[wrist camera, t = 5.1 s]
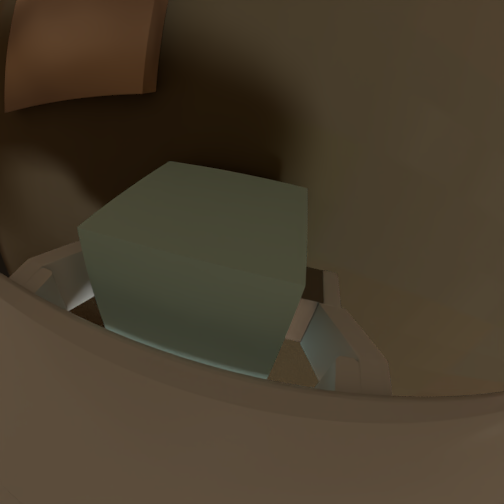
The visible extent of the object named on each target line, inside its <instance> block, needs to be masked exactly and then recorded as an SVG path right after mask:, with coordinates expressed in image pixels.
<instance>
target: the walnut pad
mask: <svg viewBox="0 0 504 504" xmlns="http://www.w3.org/2000/svg"><path fill="white" fill-rule="evenodd" d="M167 5H168V0H16V4H15V9H14V13H13V18H12V23H11V28H10V34H9V40H8V48H7V57H6V69H5V113H7V112H10V111H14V110H18V109H22V108H27V107H31V106H36V105H41V104H46V103H51V102H57V101H63V100H70V99H78V98H86V97H95V96H107V95H123V94H144V93H151V92H156V84H157V73H158V64H159V55H160V47H161V40H162V33H163V27H164V21H165V15H166V10H167Z"/></svg>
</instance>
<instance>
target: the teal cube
mask: <svg viewBox="0 0 504 504" xmlns="http://www.w3.org/2000/svg"><path fill="white" fill-rule="evenodd" d="M307 217H308V188H304V187H300V186H296V185H292V184H288V183H284V182H279V181H275V180H270V179H266V178H261V177H257V176H252V175H247V174H242V173H237V172H232V171H226V170H221V169H216V168H210V167H204V166H198V165H192V164H186V163H179V162H172V161H169V162H167V163H166V164H164V165H162V166H161V167H159V168H158V169H156V170H155V171H153V172H152V173H150V174H149V175H147V176H146V177H144V178H143V179H141V180H140V181H138V182H137V183H135V184H134V185H132V186H131V187H129V188H128V189H127V190H125V191H124V192H122V193H121V194H120V195H118V196H117V197H115V198H114V199H113V200H111V201H110V202H109V203H107V204H106V205H105V206H103V207H102V208H101V209H99V210H98V211H97V212H96V213H94V214H93V215H92V216H90V217H89V218H88V219H87V220H85V221H84V222H83V223H82V224H81V225H79V226H78V227H77V229H78V234H79V239H80V244H81V248H82V252H83V256H84V260H85V264H86V268H87V272H88V276H89V279H90V283H91V286H92V289H93V293H94V296H95V299H96V302H97V305H98V308H99V311H100V314H101V317H102V320H103V323H104V326H105V328H106V329H108V330H110V331H112V332H115V333H117V334H120V335H122V336H125V337H127V338H130V339H132V340H135V341H137V342H140V343H143V344H145V345H148V346H151V347H154V348H156V349H159V350H162V351H165V352H168V353H171V354H174V355H177V356H180V357H183V358H186V359H190V360H193V361H196V362H200V363H203V364H206V365H210V366H214V367H217V368H221V369H225V370H229V371H233V372H237V373H241V374H245V375H249V376H254V377H258V378H263V379H267V378H268V376H269V373H270V371H271V369H272V367H273V364H274V362H275V360H276V357H277V355H278V353H279V350H280V348H281V346H282V343H283V341H284V339H285V336H286V334H287V331H288V329H289V326H290V324H291V322H292V319H293V317H294V314H295V312H296V309H297V306H298V304H299V301H300V299H301V296H302V294H303V291H304V288H305V285H306V261H307Z"/></svg>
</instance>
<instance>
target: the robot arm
mask: <svg viewBox="0 0 504 504" xmlns="http://www.w3.org/2000/svg"><path fill="white" fill-rule="evenodd" d="M92 297H94V293H93V289H92V286H91V283H90V279H89V276H88V272H87V268H86V264H85V260H84V256H83V252H82V248H81V244H80V241H77V242H74V243H71V244H68V245H65V246H62V247H59V248H56V249H54V250H51V251H48V252H45V253H43V254H40V255H37V256H35V257H32V258H29V259H28V260H27V261H25V262H24V263H23V264H22V265H21V266H20V267H19V268H18V269H17V270H16V271H15V272H14V273H13V274H12V275H11V276H10V277H9V278H8V277H6V276H5V275H3V274H1V273H0V504H504V391H502V392H495V393H486V394H475V395H462V396H436V397H414V396H392V388H391V380H390V372H389V365H388V361H387V360H386V358H385V357H384V356H383V355H382V353H381V352H380V351H379V349H378V348H377V347H376V346H375V344H374V343H373V342H372V341H371V339H370V338H369V337H368V336H367V334H366V333H365V332H364V331H363V329H362V328H361V327H360V326H359V325H358V323H357V322H356V321H355V320H354V318H353V317H352V316H351V315H350V314H349V312H348V311H347V310H346V309H345V308H341V300H340V290H339V281H338V274H337V273H335V272H330V271H325V270H319V269H314V268H310V267H306V285H305V288H304V291H303V294H302V296H301V299H300V301H299V304H298V306H297V309H296V312H295V314H294V317H293V319H292V322H291V324H290V326H289V329H288V331H287V334H286V336H285V339H289V340H294V341H298V342H300V344H301V346H302V348H303V350H304V352H305V354H306V356H307V358H308V360H309V362H310V364H311V366H312V368H313V370H314V372H315V374H316V376H317V378H318V380H319V382H318V384H317V385H316V386H315V388H311V387H305V386H299V385H293V384H288V383H282V382H277V381H272V380H267V379H263V378H258V377H254V376H249V375H245V374H241V373H237V372H233V371H229V370H225V369H221V368H217V367H214V366H210V365H206V364H203V363H200V362H196V361H193V360H190V359H186V358H183V357H180V356H177V355H174V354H171V353H168V352H165V351H162V350H159V349H156V348H154V347H151V346H148V345H145V344H143V343H140V342H137V341H135V340H132V339H130V338H127V337H125V336H122V335H120V334H117V333H115V332H112V331H110V330H108V329H105V328H103V327H101V326H99V325H96V324H94V323H92V322H90V321H88V320H85V319H83V318H81V317H79V316H77V315H75V314H73V313H71V312H69V310H71V309H73V308H75V307H76V306H78V305H80V304H81V303H83V302H85V301H87V300H88V299H90V298H92Z"/></svg>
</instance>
